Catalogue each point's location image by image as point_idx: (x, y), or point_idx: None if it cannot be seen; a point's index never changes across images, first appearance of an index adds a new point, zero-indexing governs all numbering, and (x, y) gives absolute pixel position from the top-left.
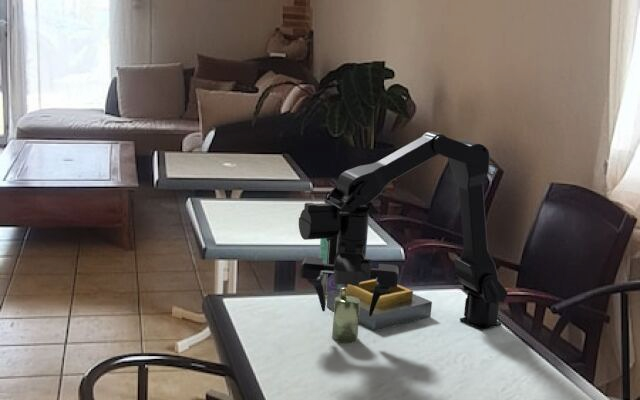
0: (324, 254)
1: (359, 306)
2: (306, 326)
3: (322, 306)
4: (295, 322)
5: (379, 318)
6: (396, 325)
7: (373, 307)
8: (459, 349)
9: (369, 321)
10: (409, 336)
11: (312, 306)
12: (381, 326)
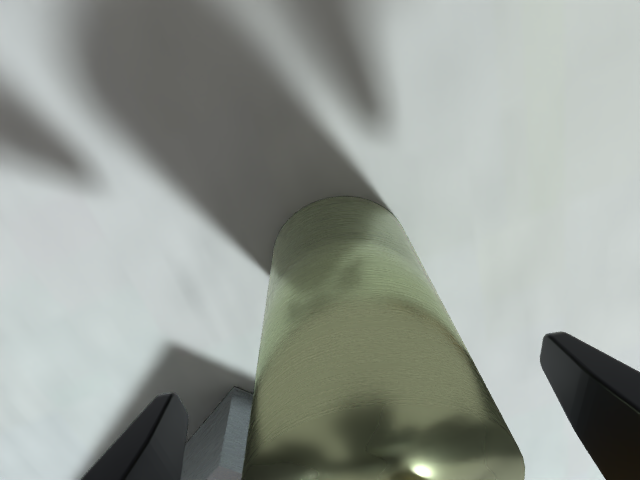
0: None
1: (245, 450)
2: (551, 311)
3: (599, 358)
4: (606, 329)
5: (212, 452)
6: None
7: (96, 471)
8: None
9: None
10: (74, 394)
11: (531, 472)
12: (213, 419)
